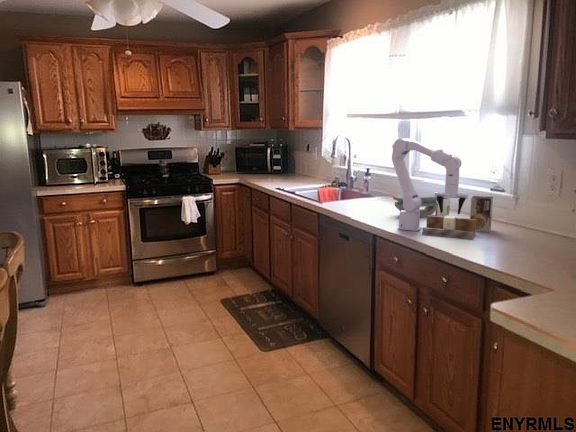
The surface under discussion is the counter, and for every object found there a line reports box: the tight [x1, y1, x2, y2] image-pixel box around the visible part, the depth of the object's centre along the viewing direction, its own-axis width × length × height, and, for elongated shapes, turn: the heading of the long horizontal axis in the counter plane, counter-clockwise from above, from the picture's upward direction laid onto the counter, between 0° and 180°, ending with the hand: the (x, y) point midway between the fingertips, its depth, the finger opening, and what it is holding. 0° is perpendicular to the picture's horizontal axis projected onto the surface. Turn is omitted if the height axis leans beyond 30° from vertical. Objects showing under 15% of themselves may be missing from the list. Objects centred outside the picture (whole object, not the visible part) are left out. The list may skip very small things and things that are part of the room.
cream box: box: [443, 215, 457, 230], centre depth 219 cm, size 5×7×7 cm
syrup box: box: [434, 197, 451, 217], centre depth 240 cm, size 6×6×14 cm
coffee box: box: [469, 195, 494, 233], centre depth 225 cm, size 9×6×16 cm
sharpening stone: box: [392, 194, 437, 218], centre depth 260 cm, size 25×8×11 cm, turn 98°
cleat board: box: [421, 215, 477, 241], centre depth 218 cm, size 22×12×7 cm, turn 62°
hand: (450, 213), depth 218 cm, fingers open, 7 cm apart
